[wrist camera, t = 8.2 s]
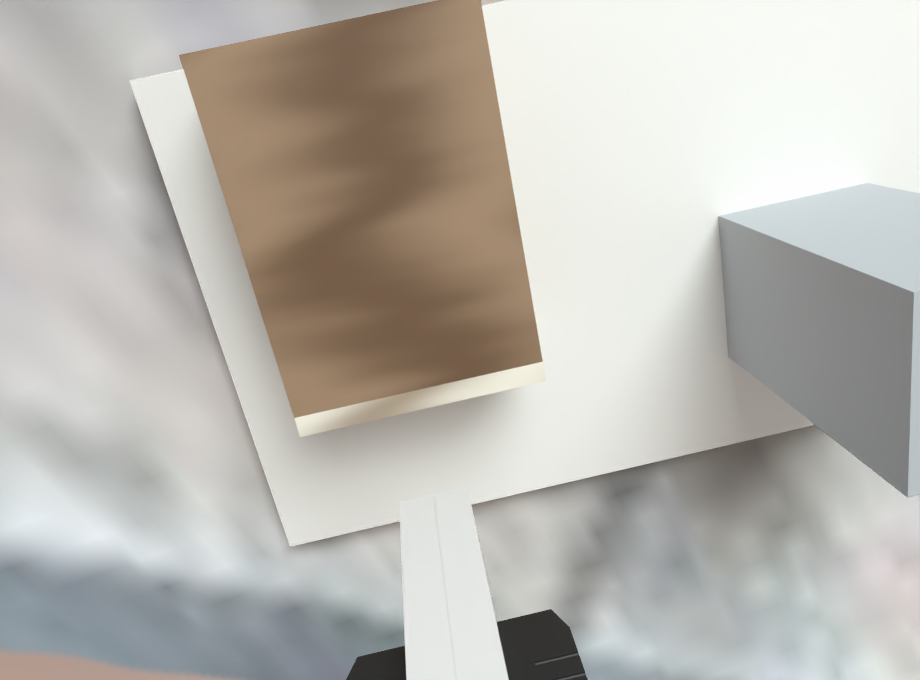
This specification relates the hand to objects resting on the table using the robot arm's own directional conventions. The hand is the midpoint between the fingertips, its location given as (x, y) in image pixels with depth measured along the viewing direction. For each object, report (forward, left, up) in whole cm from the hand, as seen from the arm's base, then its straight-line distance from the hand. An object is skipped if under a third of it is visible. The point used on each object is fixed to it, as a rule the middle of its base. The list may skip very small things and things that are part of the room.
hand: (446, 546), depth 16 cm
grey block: (+13, +1, -9) cm, 16 cm away
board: (+6, +3, -10) cm, 12 cm away
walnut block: (0, +1, -7) cm, 7 cm away
